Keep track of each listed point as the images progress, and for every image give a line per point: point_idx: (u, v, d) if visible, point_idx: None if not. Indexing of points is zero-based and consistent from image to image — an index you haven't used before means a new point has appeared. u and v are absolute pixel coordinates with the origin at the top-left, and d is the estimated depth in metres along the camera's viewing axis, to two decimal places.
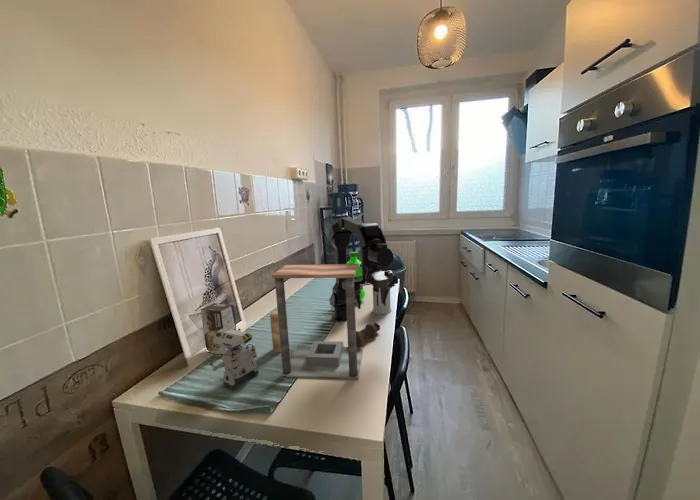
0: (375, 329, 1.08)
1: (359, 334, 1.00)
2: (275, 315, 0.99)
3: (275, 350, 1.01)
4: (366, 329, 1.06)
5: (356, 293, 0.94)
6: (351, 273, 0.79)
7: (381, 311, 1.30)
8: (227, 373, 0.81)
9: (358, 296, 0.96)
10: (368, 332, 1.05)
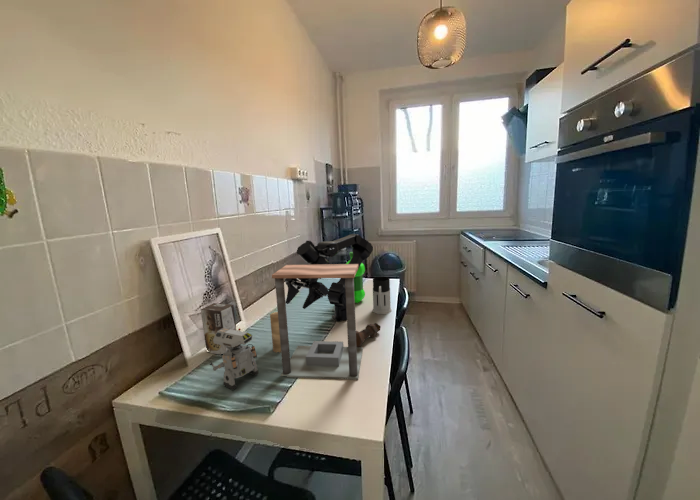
0: (376, 330, 1.08)
1: (360, 335, 1.00)
2: (275, 315, 0.99)
3: (275, 350, 1.01)
4: (367, 329, 1.06)
5: (287, 284, 1.12)
6: (351, 273, 0.79)
7: (381, 311, 1.30)
8: (227, 373, 0.81)
9: (289, 290, 1.11)
10: (369, 333, 1.05)
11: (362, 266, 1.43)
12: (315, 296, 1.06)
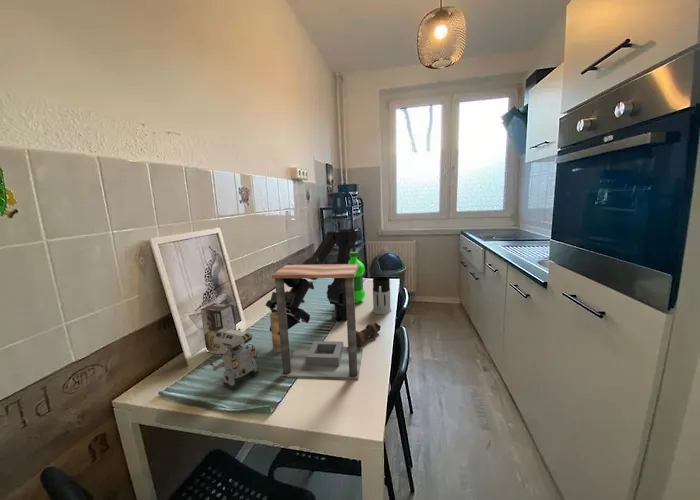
0: (376, 330, 1.08)
1: (360, 335, 1.00)
2: (275, 315, 0.99)
3: (275, 350, 1.01)
4: (367, 329, 1.06)
5: (272, 310, 1.04)
6: (351, 273, 0.79)
7: (381, 311, 1.30)
8: (227, 373, 0.81)
9: None
10: (369, 333, 1.05)
11: (362, 266, 1.43)
12: (292, 322, 1.01)
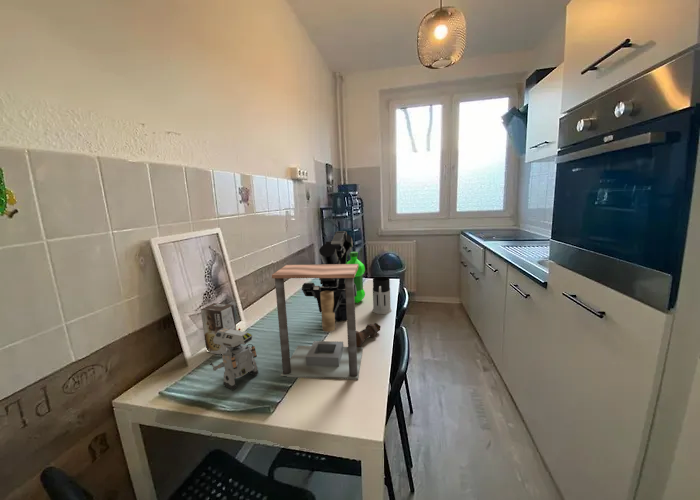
0: (376, 330, 1.08)
1: (360, 335, 1.00)
2: (328, 293, 0.98)
3: (328, 330, 0.99)
4: (367, 329, 1.06)
5: (315, 291, 1.01)
6: (351, 273, 0.79)
7: (381, 311, 1.30)
8: (227, 373, 0.81)
9: (318, 297, 1.01)
10: (369, 333, 1.05)
11: (362, 266, 1.43)
12: (340, 298, 1.02)
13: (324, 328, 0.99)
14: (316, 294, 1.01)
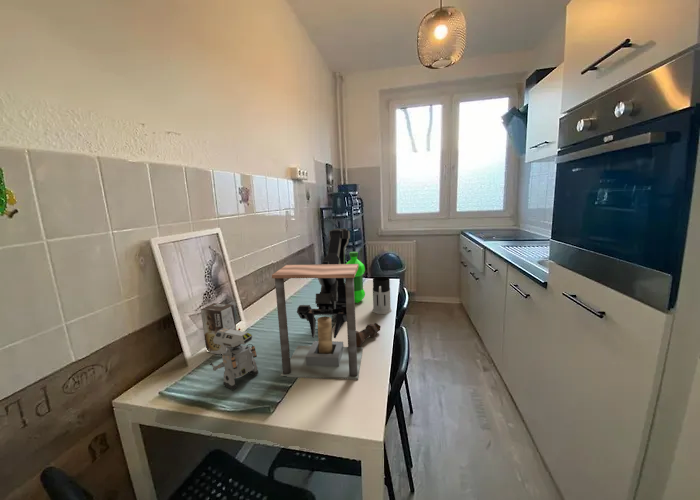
0: (376, 330, 1.08)
1: (360, 335, 1.00)
2: (326, 320, 0.92)
3: None
4: (367, 329, 1.06)
5: (308, 315, 0.95)
6: (351, 273, 0.79)
7: (381, 311, 1.30)
8: (227, 373, 0.81)
9: (311, 321, 0.95)
10: (369, 333, 1.05)
11: (362, 266, 1.43)
12: (340, 321, 0.96)
13: None
14: (309, 318, 0.95)
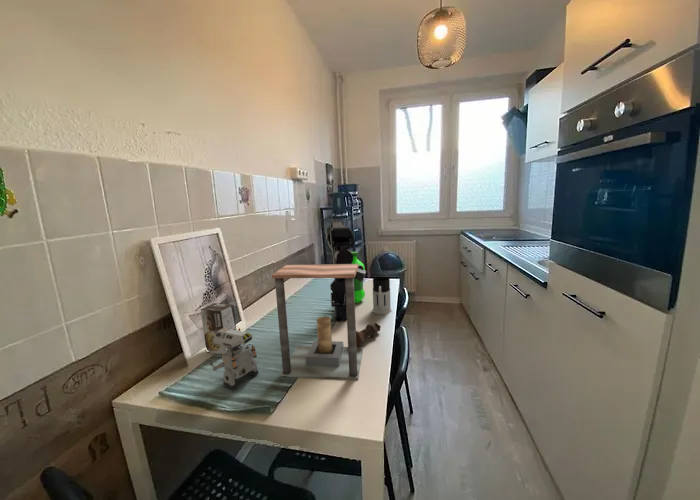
0: (376, 330, 1.08)
1: (360, 335, 1.00)
2: (325, 320, 0.92)
3: None
4: (367, 329, 1.06)
5: None
6: (351, 273, 0.79)
7: (381, 311, 1.30)
8: (227, 373, 0.81)
9: (345, 293, 1.04)
10: (369, 333, 1.05)
11: None
12: None
13: None
14: None
